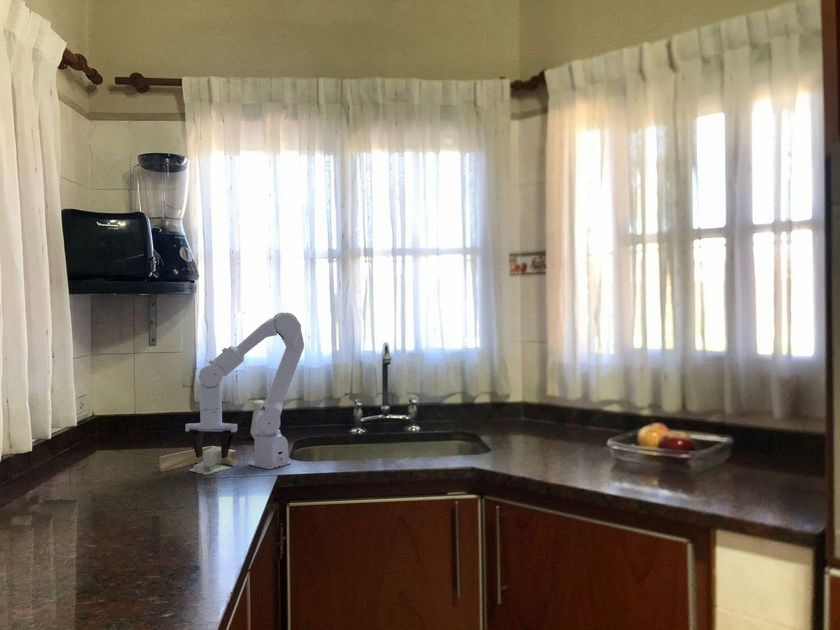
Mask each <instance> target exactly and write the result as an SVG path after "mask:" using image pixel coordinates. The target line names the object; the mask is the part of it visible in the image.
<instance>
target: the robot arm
mask: <svg viewBox="0 0 840 630" xmlns="http://www.w3.org/2000/svg"><path fill="white" fill-rule="evenodd" d="M278 335H279V336H280V338H281V340H282V342H283V344H284V346H285V349H284V351H283V355H282V357H281V359H280V362H279V365H278V367H277V370H276V373H275V375H274V378H273V381H272V383H271V386H270V388H269V391H268V393H267V396H266V398H265V400H263V401H264V403H263V405H262V407H261V409H260V410H259V411H257V413H256V414H255V417H254V421H255V424H256V426H257V427H258V428H257V430H256V431H255V439H254V460H255V461H252V462H248V465H249V466H251V467H258V468H261V469H262V468H263V469H266V470H271V469H274V468H275V467H276V468H279V466H280V467H284V466H287V465H290V464H291V463H292V462H291V461H289V443H288V440H287V438H286V437H285V436H283V435H282V433H281V430H280V429H279V428H280V427H281V415H282V412H283V404H284V401H285V399H286V397H287V394H288V391H289V388H290V385H291V383H292V380H293V377H294V375H295V373H296V369H297V368H298V364H299V362H300V359H301V357H302V353H303V351H304V349H305V341H304V338H303V332H302V324H301V323H300V321H299V320H298V318H297V317H296V315H294V314H293V313H290V312H279V313H278V312H277V313H276V314H275V315H274V316H273V317H271V318H269V319H267V320H266V321H265V322H263V323H261V324H260V325H259V326H258V327H257V328H256V329H255V330H254V331H253V332H252V333H250V334H248V336H247V337H245V338H244V340H242V341H241V342H239V344H238V345H236V346H234V345H233V346H232V345H230V346H228V347H224V348H222V350H221V351H222V352H221V353H220V354H219V355H218V356H216V357H215V358H213V360H212V359H211V360H209V361H208V365H205V366H203V367H202V368H201V369H200V371H199V374H198V380H199V382H200V386H199V390H200V392H199V412H200V415H199V417H200V418H199V419H200V422H197V423H195V422H194V423H185V432H188V433H187V434H186V436H187V438H188V440H189V441H190V443H191V445H192V447H193V449H194V450H195V454H196V458H199V457H201V456H202V453H203V449H202V448H203V442H204V440H203V438H204V433H205V432H220V433H219V434H218V436H219V441H220V448H221V452H222V458H226V457H228V452H229V449H230V447H231V444H232V441H233V439H234V437H235V435H236V432H238V423H226V422H223V409H222V408H223V407H222V391H221V383H222V380H223V377H227V376H228V375H229V374H231V373H232V372H233V371H234V370H236V368H238V367H239V366H240V365H241V364H242V363H244V359H245V355H246V354H247V353H248V352H250V351H251V350H252V349H254V348H255V347H256V346H257V345H259V344H260V343H261V342H263V340H265V339H266V338H269V337H274V336H278ZM276 468H275V469H276Z"/></svg>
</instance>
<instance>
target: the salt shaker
mask: <svg viewBox="0 0 840 630" xmlns="http://www.w3.org/2000/svg"><path fill="white" fill-rule="evenodd" d="M264 401H265V400H261V399H260V400H259V399H258V400H254V401H252V404H251V405H252V408H253V412H252V419H251V427H250V435H251V436H252V438H253V440H255V431H256V430H257V428H258V427H257V426H256V424H255V421H254V417H255V414H256V413H257V411H259V410H260V409H261V407H262V405H263V403H264Z"/></svg>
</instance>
